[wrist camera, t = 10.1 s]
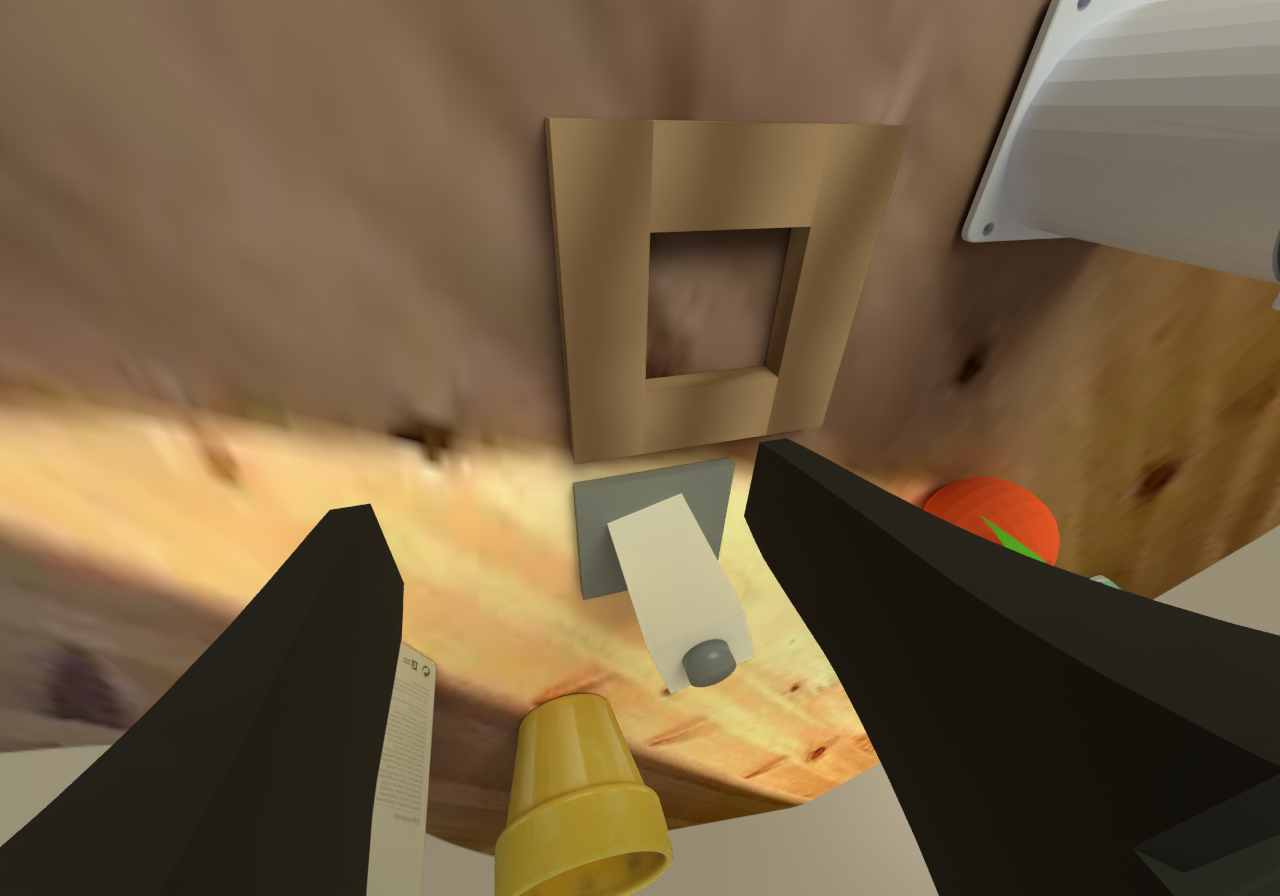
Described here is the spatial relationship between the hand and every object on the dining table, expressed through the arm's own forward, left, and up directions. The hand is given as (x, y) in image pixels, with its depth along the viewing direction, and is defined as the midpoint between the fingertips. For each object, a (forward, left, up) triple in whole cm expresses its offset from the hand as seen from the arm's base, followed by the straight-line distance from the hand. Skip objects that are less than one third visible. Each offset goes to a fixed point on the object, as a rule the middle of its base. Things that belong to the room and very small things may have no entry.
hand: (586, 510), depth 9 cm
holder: (-7, 0, -10) cm, 13 cm away
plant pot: (+1, +30, -11) cm, 32 cm away
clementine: (-25, +14, -11) cm, 31 cm away
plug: (-5, +12, -10) cm, 16 cm away
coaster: (-5, +12, -10) cm, 17 cm away
